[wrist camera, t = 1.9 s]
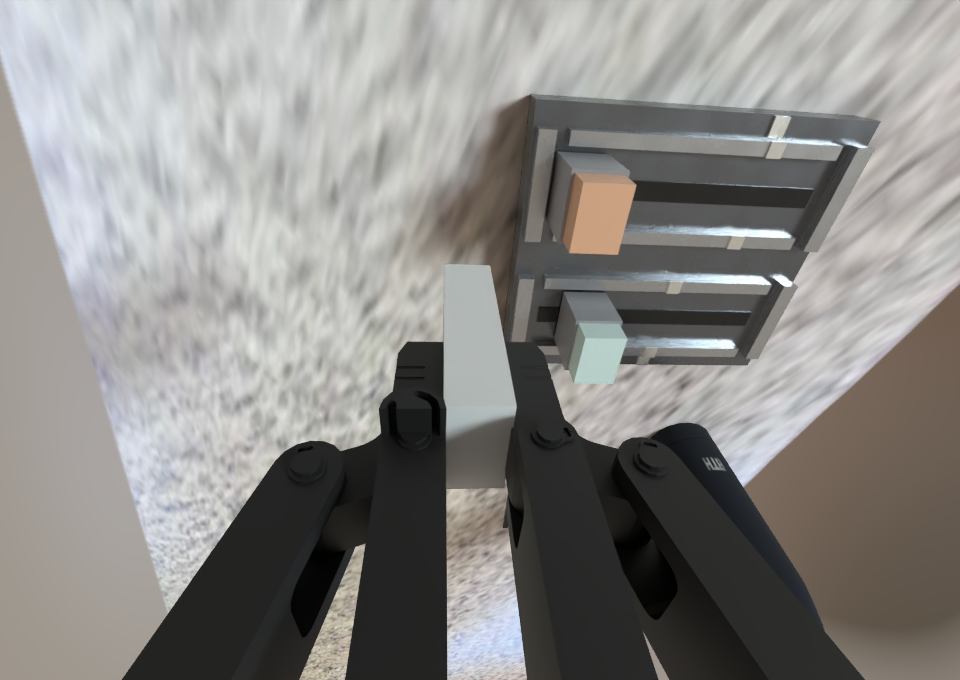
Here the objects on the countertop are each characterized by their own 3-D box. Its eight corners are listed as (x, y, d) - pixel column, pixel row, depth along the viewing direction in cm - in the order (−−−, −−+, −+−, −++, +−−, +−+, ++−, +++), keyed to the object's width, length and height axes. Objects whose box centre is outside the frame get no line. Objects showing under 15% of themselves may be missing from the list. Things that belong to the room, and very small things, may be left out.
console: (530, 94, 25) (539, 101, 22) (854, 115, 26) (892, 123, 24) (501, 347, 35) (505, 369, 33) (734, 350, 37) (752, 371, 35)
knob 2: (563, 291, 30) (582, 335, 26) (605, 292, 30) (631, 336, 26) (554, 338, 32) (570, 385, 28) (593, 339, 33) (615, 386, 28)
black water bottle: (653, 472, 46) (879, 962, 22) (637, 437, 43) (886, 974, 19) (713, 451, 45) (1026, 951, 21) (702, 413, 41) (1064, 962, 17)
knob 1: (557, 151, 24) (580, 177, 20) (608, 154, 25) (641, 180, 21) (546, 220, 27) (564, 256, 23) (593, 222, 27) (620, 258, 23)
